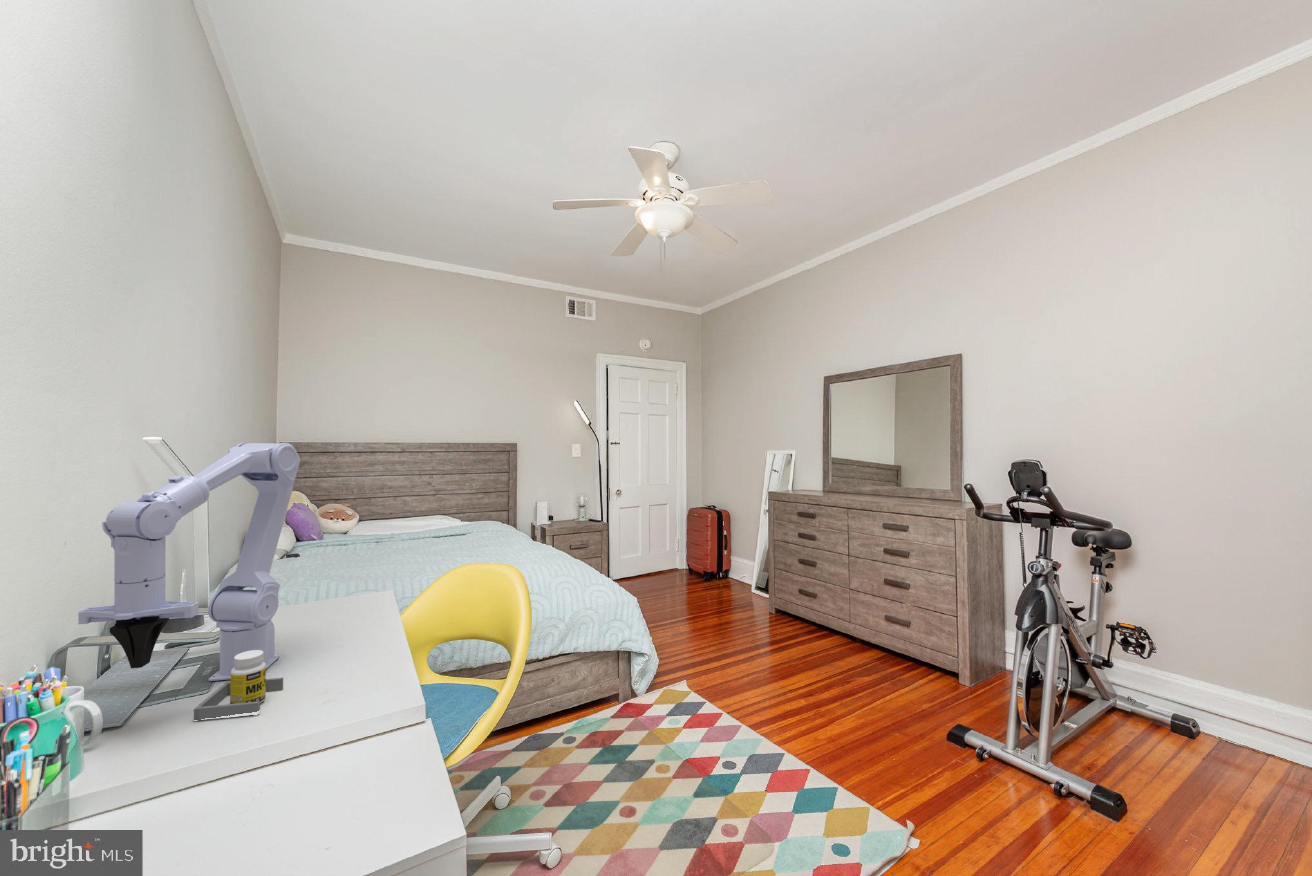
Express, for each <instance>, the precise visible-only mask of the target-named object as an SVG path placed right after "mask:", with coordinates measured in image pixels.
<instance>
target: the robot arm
mask: <svg viewBox="0 0 1312 876" xmlns="http://www.w3.org/2000/svg"><path fill="white" fill-rule="evenodd" d="M300 463H301V458H300V456H299V454H298V451H297V450H296V447H295V446H293V445H292V444H291V443H289V442H281V443H272V442H271V443H268V442H267V443H266V442H265V443H264V442H257V443H256V442H249V441H247V442H246V441H243V442H240V443H238V444H237V445H236V446H233V447H230V448H229V449H228V452H227V454H225V455H224V456H223V457H221V458H220V459H218V460H216V461H215V462H213V463H212V464H211V465H209V466H207V467H206V468H204V469H203V470H201V471H199V472H198V473H197V474H195V475H193V476H192V475H187V474H185V475H184V474H183V475H173V476H171V477H169V478H168V479H167V480H168V482H167V483H166V484H163V485H162V486H159V487H157V488H156V489H154V490H153V491H147V492H145V493H143V494H142V495H141V497H140V498H138V499H137V500H136V501H125V502H122V503H120V504H118V505H116V506H114V507H113V508H112V509H111V510H110V511H109V513H107V516H106V518H105V521H102V523H101V525H102V530H103V531H104V533H105V534H106V535H107V537H109V538H110V544H111V545H110V547H111V548H113V550H114V563H113V564H114V573H113V575H114V576H113V577H114V578H113V579H114V590H113V591H114V603H113V604H112V605H106V606H95V607H94V606H93V607H87V608H85V609H83V610H80V611H78V619H77V620H78V623H77V624H78V625H87V624H90V623H102V622H105V623H106V622H115V623H114V625H113V626H111V627H110V628H109V634H110V635H112V637H113V638H115V639H116V640H117V641H118V643H119V644H120V647H121V648H122V650H123V651H124V654H125V656H126V658H127V660H128V663H129V667H130V669H140V668H143V667H145V666H147V665H148V664H150V662H151V659H152V656H153V651H154V648H155V646H156V644H157V641H158V638H159V637H160V634H161V633H162V631H163V630H164V628H165V626H166V624H167V623H168V621H170V619H171V618H184V619H192V618H193V617H195V616H197V615H199V612H200V611H199V610H200V609H199V607H200V602H199V601H173V600H171V601H170V600H166V550H167V549H166V541H167V540H166V539H167V538H166V537H167V536H169V535H171V534H172V532H174V529H175V528H176V525H177V523H178V522H179V521H180V520H181V519H182V518H183V517H185V516H186V515H188V514H189V513H191V512H193V510H195V509H197V508H199V507H200V506H202V505H203V504H205V503H207V501H208V500H209V498H210V492H212V491H213V490H215V489H217V488H218V487H221V486H222V485H225V484H226V483H228V482H230V481H232V480H234V479H235V478H237V477H238V476H241V477H242V479H245V481H247V482H248V483H249V484H250V485H252V486H253V487H255V489H256V490H257V491H258V496H257V499H256V501H255V505H254V509H253V512H252V514H251V518H250V522H249V525H248V529H247V532H246V535H245V538H244V542H243V545H242V548H241V552H240V554H239V555H240V556H239V558H238V562H237V565H236V568H235V570H234V572H233V573H231V574H230V575H228V576H227V577H225V578H224V579H223V580H221V581H220V583H219V585H218V588H217V591H216V592H215V593H214V595H212V598H211V599H210V602H209V605H208V609H207V610H208V611H207V612H208V616H209V618H210V620H211V621H213V622H215V623H216V626H215V627H216V628H218V629H219V670H217V671H216V672H215V673H213V675H211V676H210V677H208V681H209V682H215V681H216V682H217V681H223V680H224V681H225V680H227V681H228V680H231V670H232V669H233V668H234V657H235V656H236V655H238V654H240V653H242V652H246V651H251V650H261V651H263V655H264V659H263V662H265V664H266V670H267V669H268V668H269V667H270V666H271V665H272V664H274V663H275V662H276V661H277V660H278V659H279V658H280V655H281V654H279V653H278V654H276V653H275V650H276V649H275V646H276V645H275V644H276V643H275V636H276V635H275V634H276V631H275V628H276V627H275V624H274V622H273V621H272V619H273V617H274V616H276V613H277V611H278V609H279V591H280V583H279V582H278V581H276V579H275V578H273V576H272V575H270V573H271V569H272V566H273V562H274V559H275V555H276V551H277V547H278V545H279V544H278V543H279V539H280V536H281V533H282V529H283V525H284V522H285V519H286V515H287V512H288V508H289V504H290V501H291V497H292V494H293V490H294V484H295V482H296V477H297V473H298V470H299V466H300ZM246 588H255V589H246Z"/></svg>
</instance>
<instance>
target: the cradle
mask: <svg viewBox="0 0 1312 876" xmlns="http://www.w3.org/2000/svg"><path fill="white" fill-rule="evenodd" d="M230 687H231V681H226V682H224V683H223V684H222V685H221V686H220V687H218V688H217V689H216V690H215V691H214V692H212V693H211V694H210V695H209V696H208V697H206V698H205V699H204V700H203V701H202V702H200V703H199V704H198V705H197V706H196V707H195V708H193V721H194V720H201V719H205V718H216V717H221V716H228V715H229V716H230V715H235V714H243V713H252V712H257V711H259V710H260V711H261V704H260V701H258V702H247V703H237V704H230V703H227V704H219V703H220V702H222V701H223V700H224V699H225V698H226V697H227V696H230ZM277 690H278V691H283V690H284V677H273V678H271V677H270V678H266V691H267V692H274V691H275V692H276V691H277Z"/></svg>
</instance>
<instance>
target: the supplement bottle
mask: <svg viewBox="0 0 1312 876" xmlns="http://www.w3.org/2000/svg"><path fill="white" fill-rule="evenodd" d="M263 659H264V655H263V651H261V650H251V651H246V652H242V653H240V654H238V655H236V656H235V657H234V668H233V669H232V670H231V679H230V682H231V687H230V695H229V696H230V698H229V701H230V702H229V704H237V703H247V702H258V701H260V703H261V702H263V701H264V702H265V700H266V693H267V692H266V679H267V677H266V676H267V669H266V664H265V662H263ZM264 702H263V703H264ZM261 704H262V703H261Z"/></svg>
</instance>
